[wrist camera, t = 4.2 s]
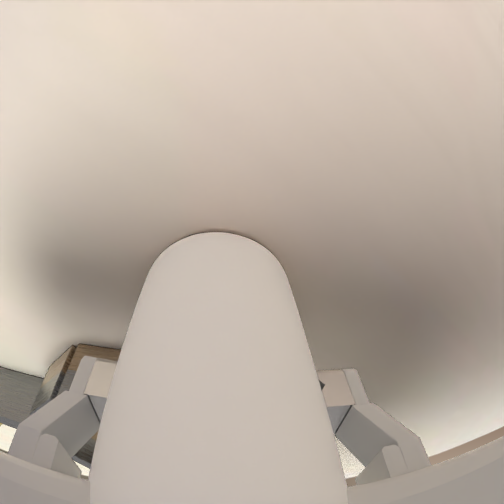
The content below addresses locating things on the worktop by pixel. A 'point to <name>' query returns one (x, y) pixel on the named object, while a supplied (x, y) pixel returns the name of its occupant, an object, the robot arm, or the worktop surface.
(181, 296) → the can
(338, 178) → the worktop surface
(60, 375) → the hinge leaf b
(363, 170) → the worktop surface
